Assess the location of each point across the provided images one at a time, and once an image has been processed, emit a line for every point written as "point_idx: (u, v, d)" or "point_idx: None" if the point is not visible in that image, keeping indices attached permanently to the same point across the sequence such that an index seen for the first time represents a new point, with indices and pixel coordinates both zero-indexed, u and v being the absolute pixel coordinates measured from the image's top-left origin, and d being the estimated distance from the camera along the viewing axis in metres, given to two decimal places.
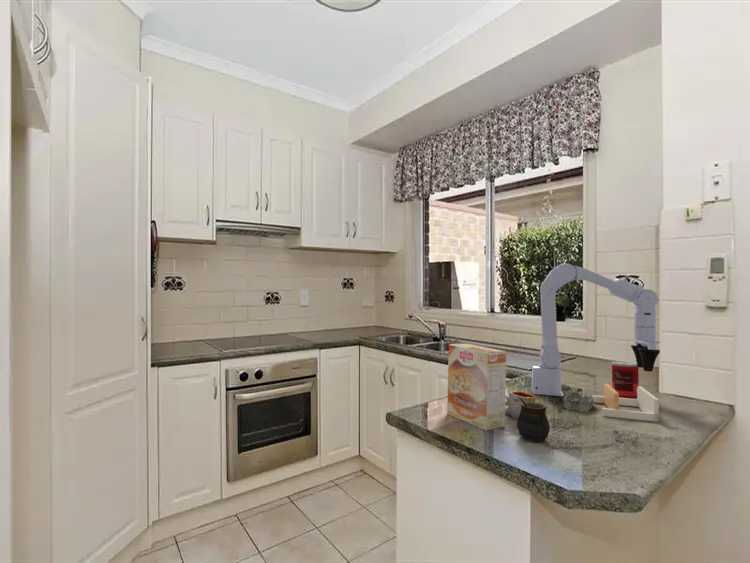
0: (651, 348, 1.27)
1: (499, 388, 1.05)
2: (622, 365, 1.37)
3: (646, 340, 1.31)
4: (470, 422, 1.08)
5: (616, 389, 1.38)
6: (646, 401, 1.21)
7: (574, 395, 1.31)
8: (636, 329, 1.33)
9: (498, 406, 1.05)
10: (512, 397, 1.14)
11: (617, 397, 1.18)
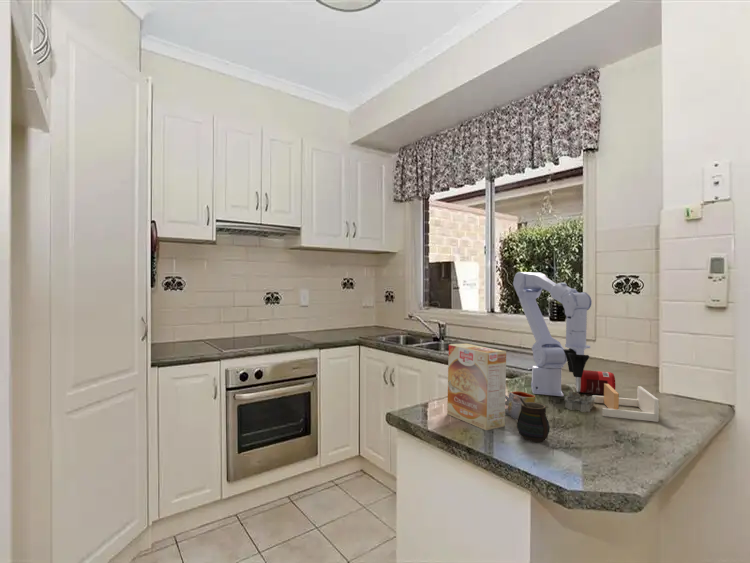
0: (579, 353, 1.24)
1: (499, 388, 1.05)
2: (579, 386, 1.41)
3: (576, 345, 1.28)
4: (470, 422, 1.08)
5: None
6: (646, 401, 1.21)
7: (574, 395, 1.31)
8: (567, 333, 1.30)
9: (498, 406, 1.05)
10: (512, 397, 1.14)
11: (617, 397, 1.18)
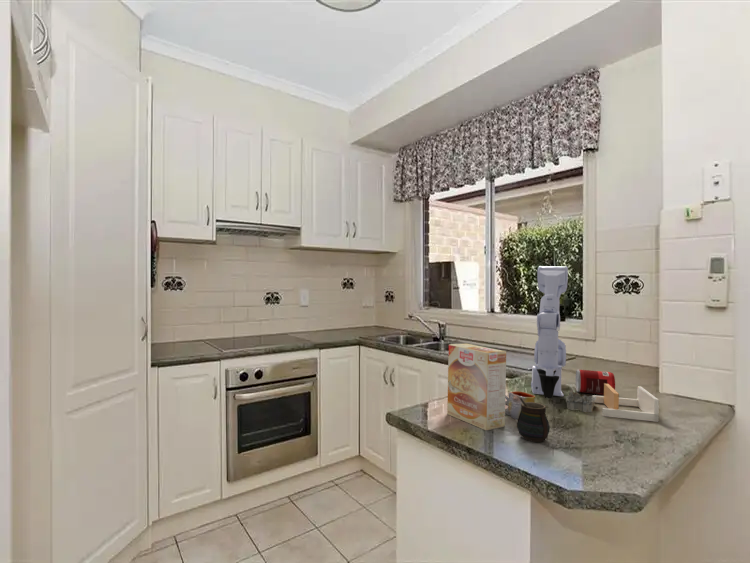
0: (548, 374, 1.22)
1: (499, 388, 1.05)
2: (579, 385, 1.41)
3: (547, 365, 1.27)
4: (470, 422, 1.08)
5: None
6: (646, 401, 1.21)
7: (574, 395, 1.31)
8: (539, 353, 1.29)
9: (498, 406, 1.05)
10: (512, 397, 1.14)
11: (617, 397, 1.18)
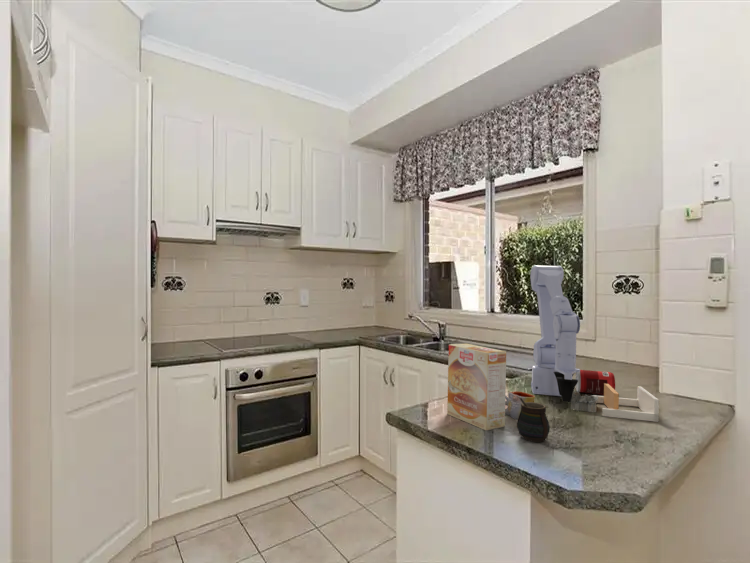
0: (567, 378, 1.21)
1: (499, 388, 1.05)
2: (579, 386, 1.41)
3: (565, 368, 1.25)
4: (470, 422, 1.08)
5: None
6: (646, 401, 1.21)
7: (575, 395, 1.31)
8: (556, 356, 1.28)
9: (498, 406, 1.05)
10: (511, 397, 1.14)
11: (617, 397, 1.18)
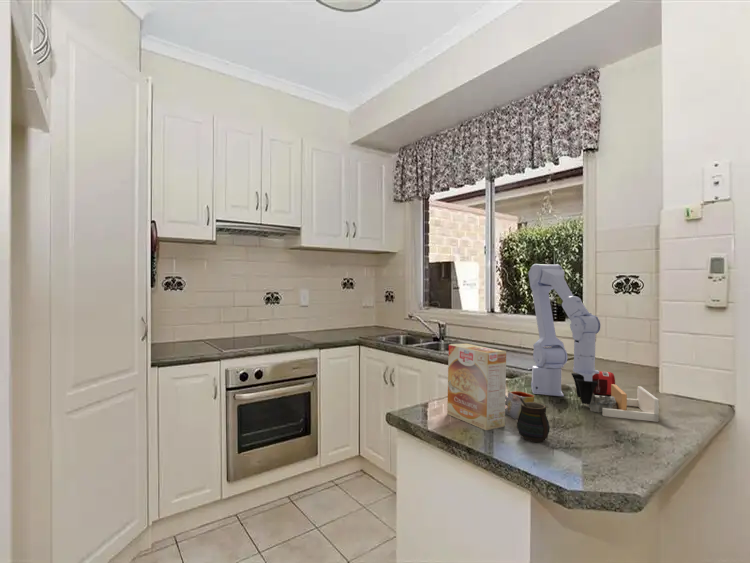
0: (587, 379, 1.19)
1: (499, 388, 1.05)
2: None
3: (584, 370, 1.24)
4: (470, 422, 1.08)
5: (606, 393, 1.39)
6: (646, 401, 1.21)
7: None
8: (575, 358, 1.26)
9: (498, 406, 1.05)
10: (511, 397, 1.14)
11: (625, 398, 1.17)
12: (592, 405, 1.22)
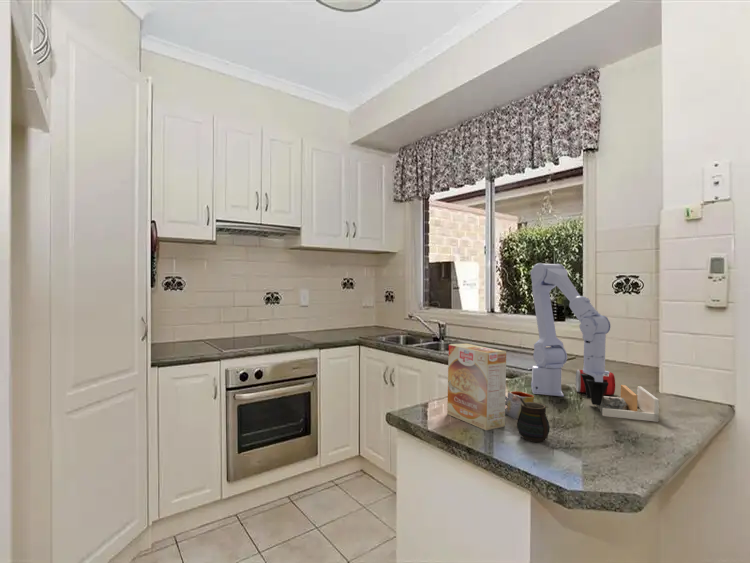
0: (598, 380, 1.18)
1: (499, 388, 1.05)
2: (579, 386, 1.41)
3: (594, 371, 1.23)
4: (470, 422, 1.08)
5: (606, 393, 1.39)
6: (646, 401, 1.21)
7: None
8: (585, 358, 1.25)
9: (498, 406, 1.05)
10: (511, 397, 1.14)
11: (636, 399, 1.16)
12: (602, 407, 1.21)
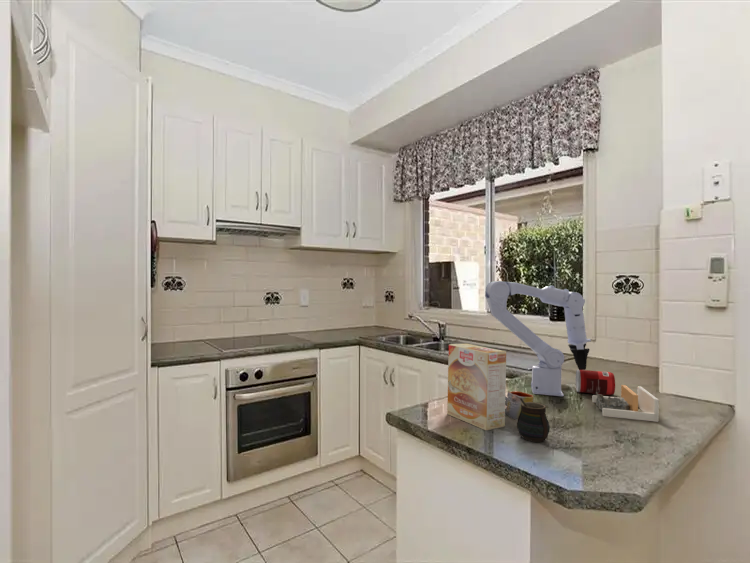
0: (579, 348, 1.35)
1: (499, 388, 1.05)
2: (579, 386, 1.41)
3: (577, 340, 1.39)
4: (470, 422, 1.08)
5: (606, 393, 1.39)
6: (646, 401, 1.21)
7: None
8: (567, 330, 1.41)
9: (498, 406, 1.05)
10: (510, 397, 1.15)
11: (636, 399, 1.16)
12: (604, 407, 1.21)
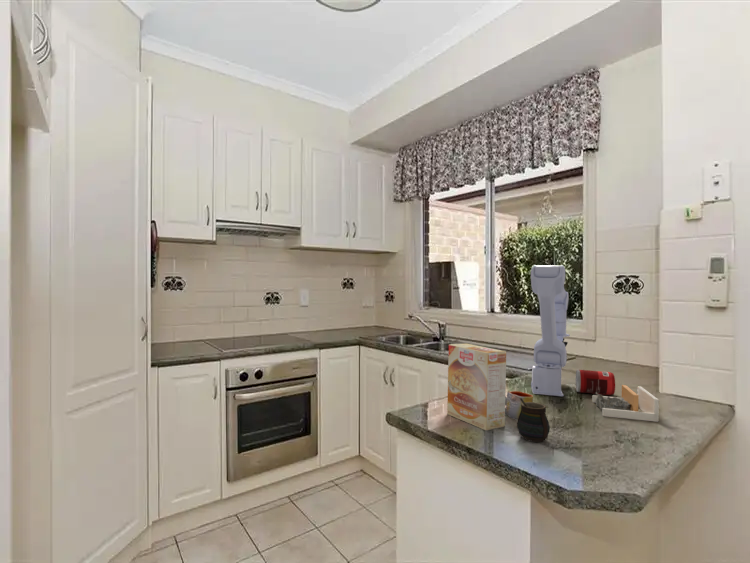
0: (559, 340, 1.49)
1: (499, 388, 1.05)
2: (579, 386, 1.41)
3: (557, 333, 1.53)
4: (470, 422, 1.08)
5: (606, 393, 1.39)
6: (646, 401, 1.21)
7: None
8: None
9: (498, 406, 1.05)
10: (510, 397, 1.15)
11: (637, 399, 1.16)
12: None
